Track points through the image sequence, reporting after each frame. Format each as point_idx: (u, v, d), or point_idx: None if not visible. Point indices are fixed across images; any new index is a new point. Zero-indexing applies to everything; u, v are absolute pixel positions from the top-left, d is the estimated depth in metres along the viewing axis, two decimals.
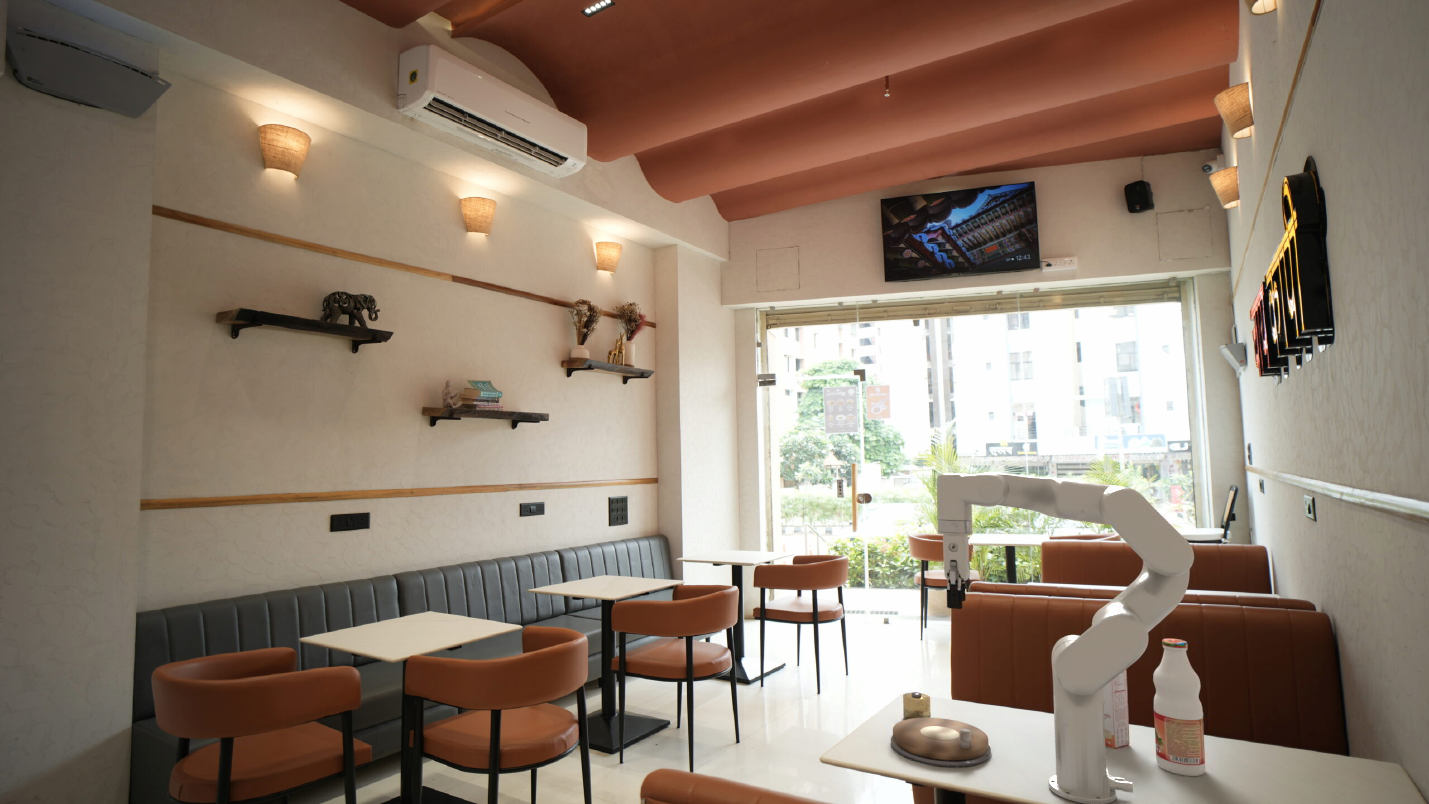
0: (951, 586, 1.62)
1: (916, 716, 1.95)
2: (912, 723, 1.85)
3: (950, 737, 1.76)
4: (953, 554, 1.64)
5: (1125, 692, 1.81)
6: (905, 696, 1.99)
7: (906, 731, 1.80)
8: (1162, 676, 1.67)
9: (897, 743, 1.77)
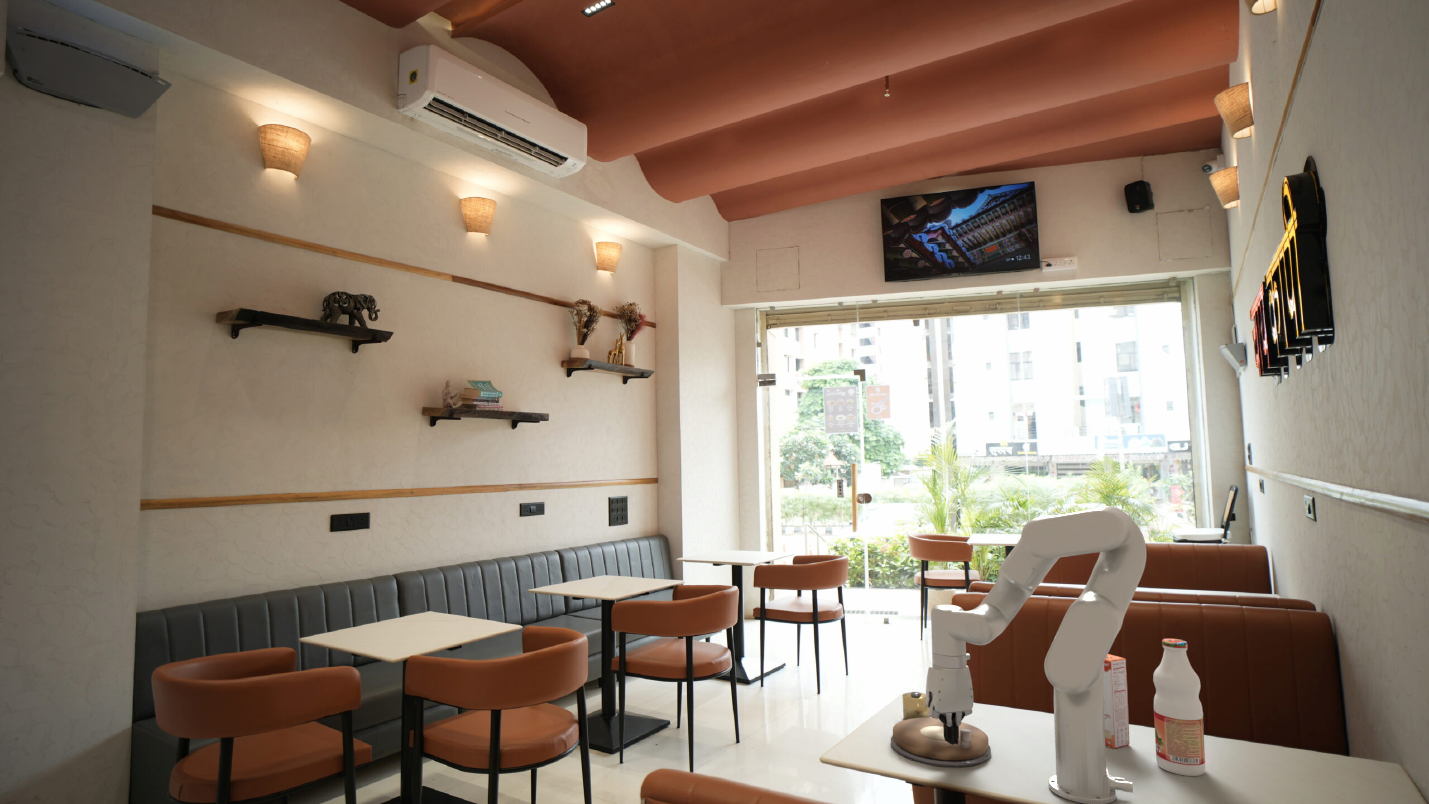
0: None
1: (915, 716, 1.95)
2: (912, 723, 1.85)
3: None
4: None
5: (1125, 692, 1.81)
6: (904, 696, 1.99)
7: (906, 732, 1.80)
8: (1162, 676, 1.67)
9: (897, 743, 1.77)
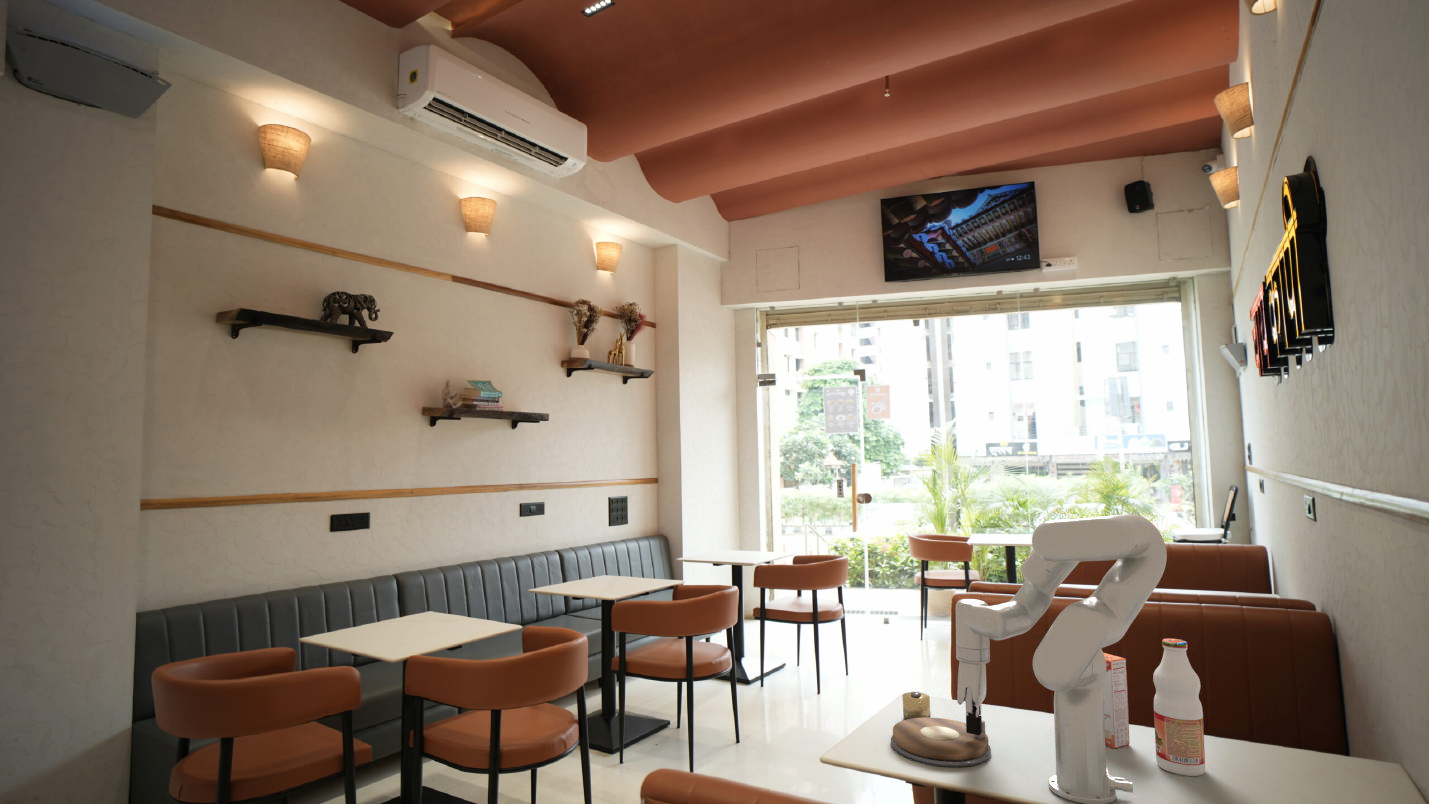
0: None
1: (914, 716, 1.95)
2: (906, 733, 1.79)
3: (954, 733, 1.79)
4: None
5: (1125, 692, 1.81)
6: (904, 696, 1.99)
7: (924, 741, 1.74)
8: (1162, 676, 1.67)
9: (932, 755, 1.69)
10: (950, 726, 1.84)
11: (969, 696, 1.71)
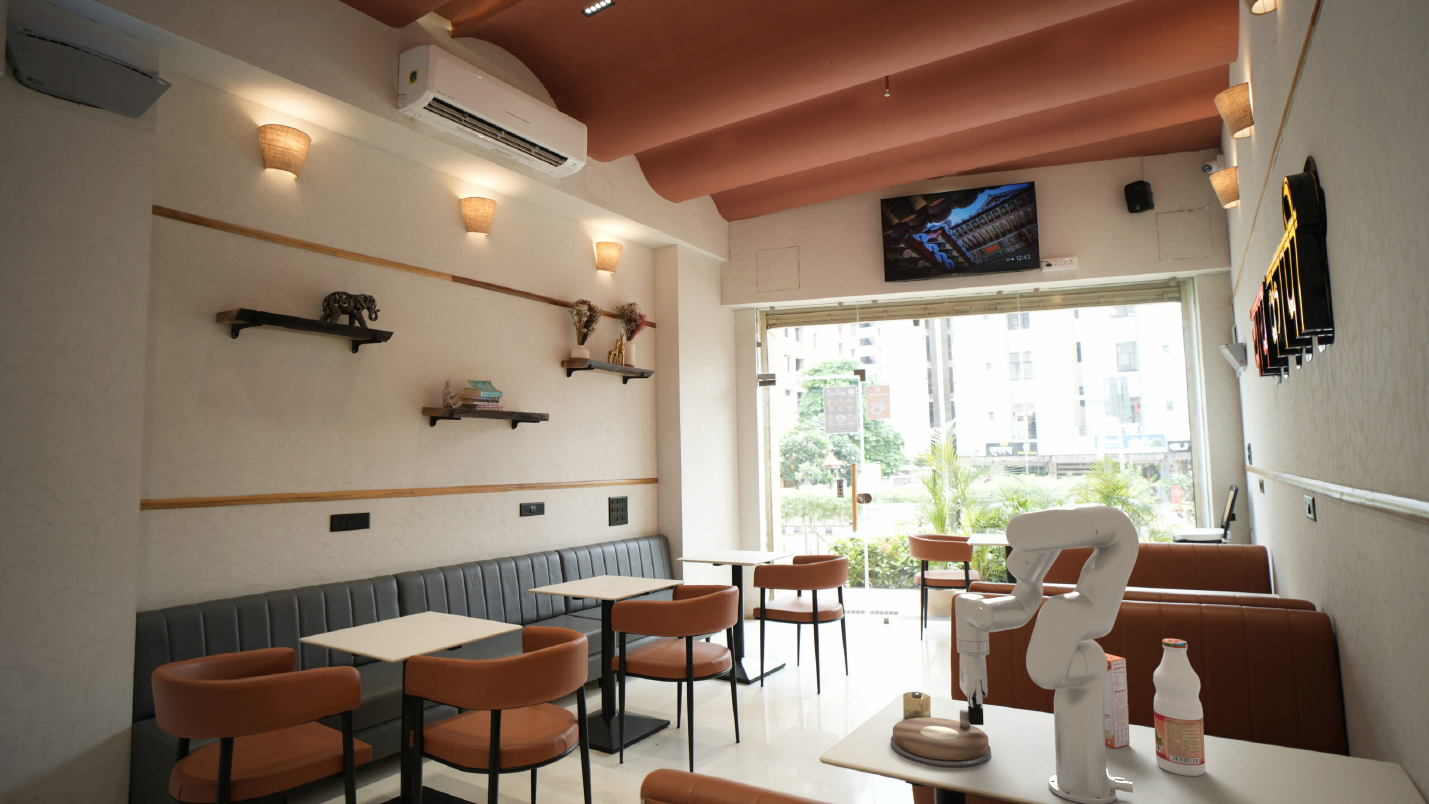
0: None
1: (913, 715, 1.96)
2: (924, 742, 1.73)
3: (948, 729, 1.81)
4: None
5: (1125, 692, 1.81)
6: (905, 695, 2.00)
7: (952, 745, 1.71)
8: (1162, 676, 1.67)
9: (971, 756, 1.69)
10: (929, 724, 1.85)
11: (978, 688, 1.77)
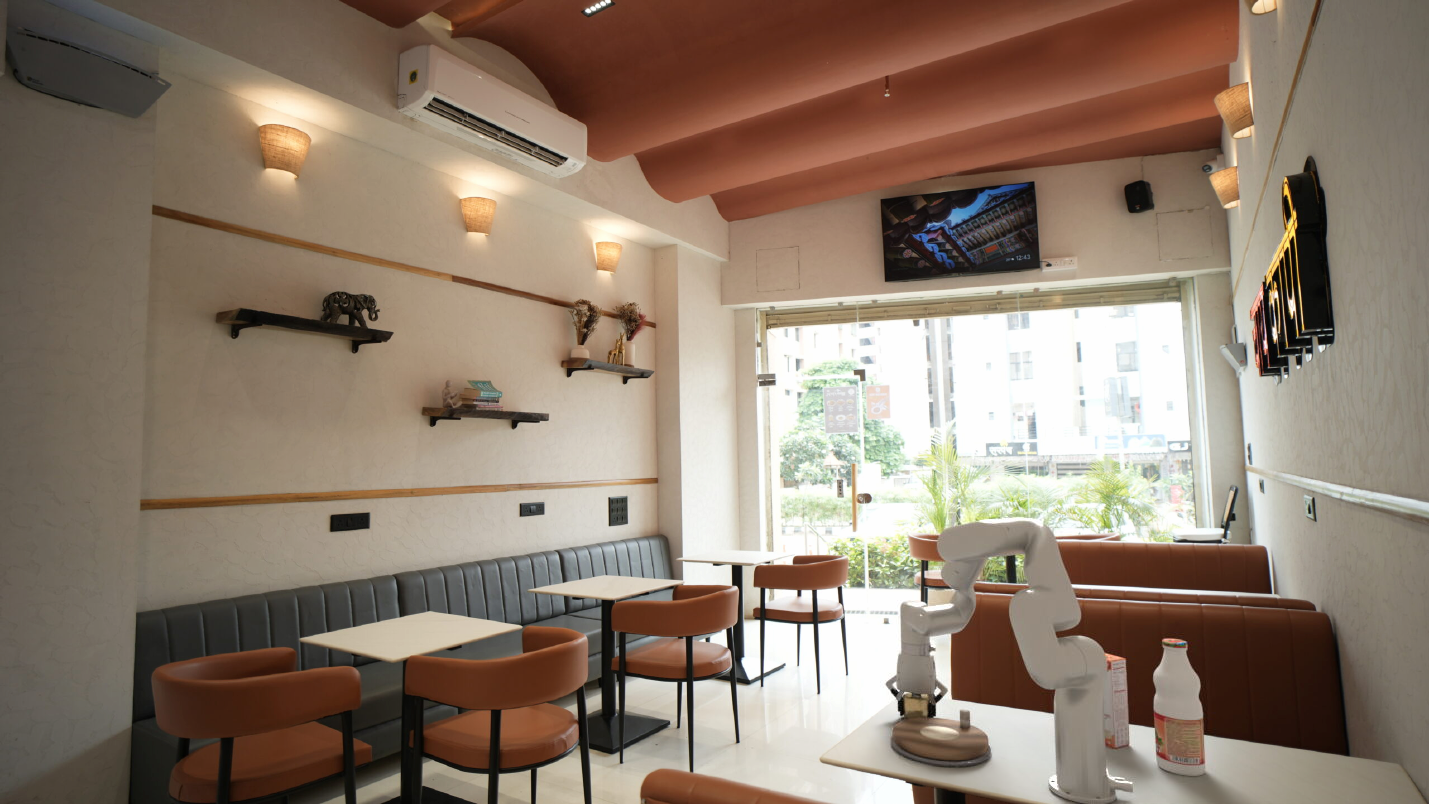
0: (938, 700, 1.96)
1: (909, 715, 1.96)
2: (924, 742, 1.73)
3: (948, 729, 1.81)
4: (935, 671, 1.98)
5: (1125, 692, 1.81)
6: (905, 694, 2.01)
7: (952, 745, 1.71)
8: (1162, 676, 1.67)
9: (971, 756, 1.69)
10: (929, 724, 1.85)
11: None
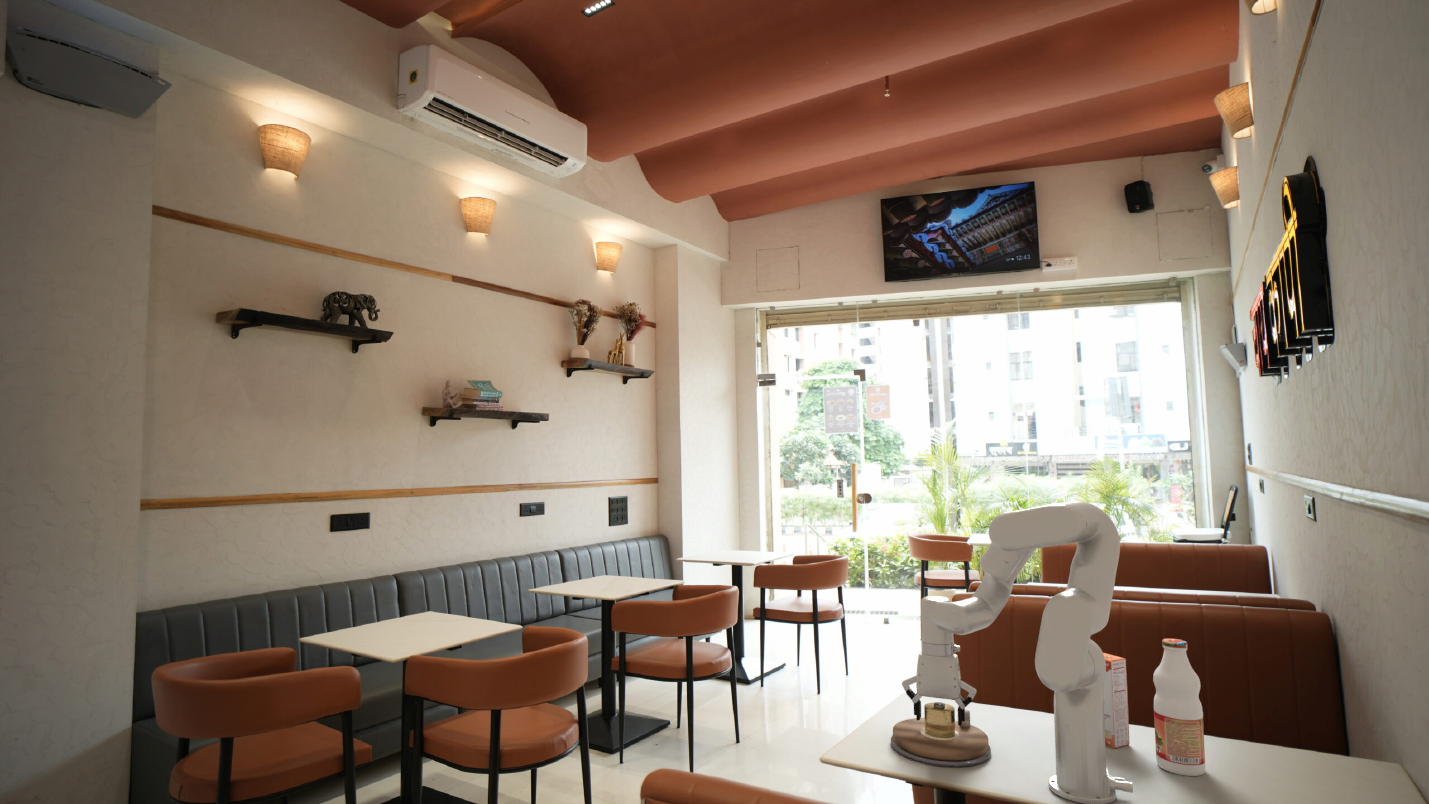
0: None
1: (932, 727, 1.77)
2: (924, 742, 1.73)
3: None
4: (959, 673, 1.78)
5: (1125, 692, 1.81)
6: (927, 705, 1.81)
7: (952, 745, 1.71)
8: (1162, 676, 1.67)
9: (971, 756, 1.69)
10: None
11: None
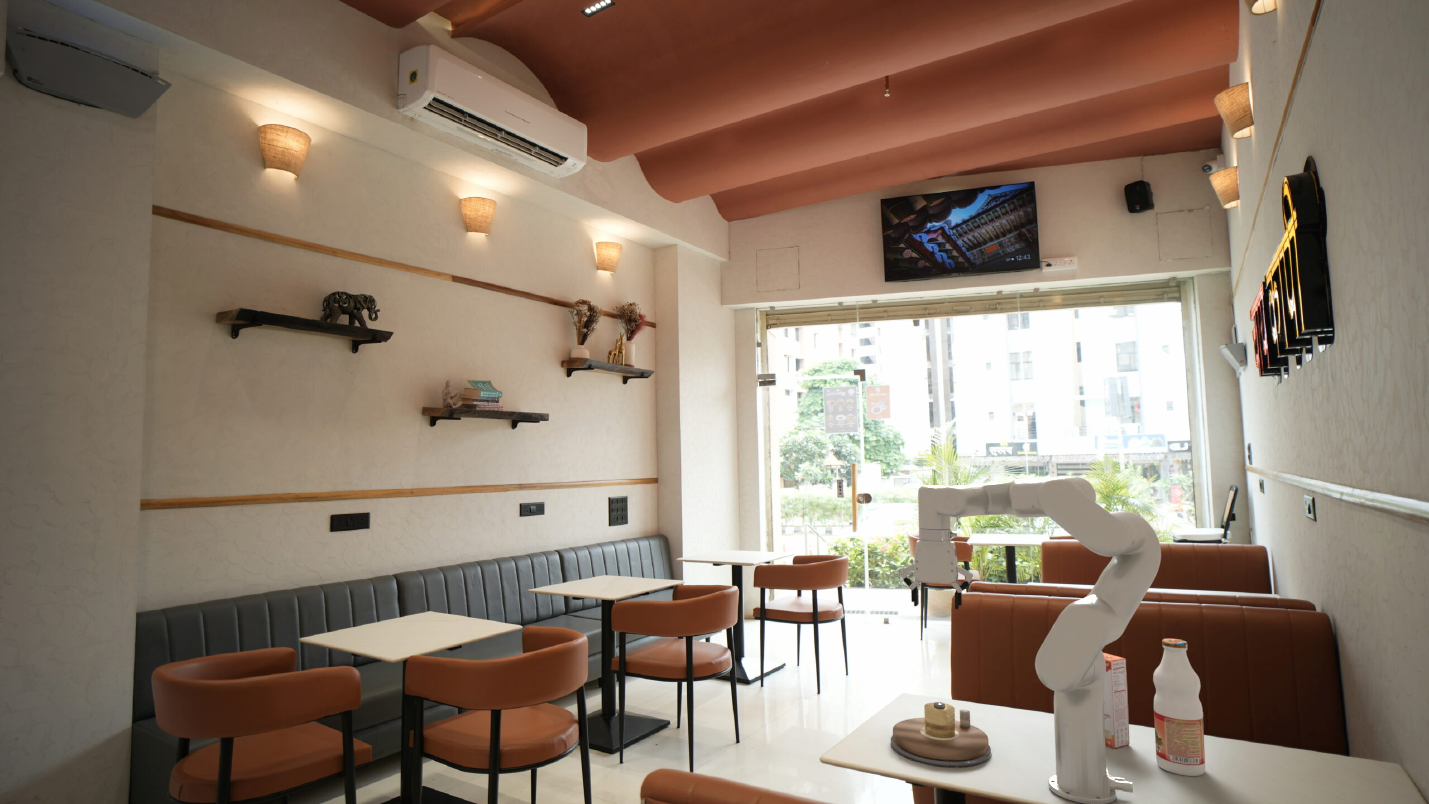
0: None
1: (931, 727, 1.77)
2: (924, 742, 1.73)
3: None
4: (956, 559, 1.80)
5: (1125, 692, 1.81)
6: (927, 705, 1.81)
7: (952, 745, 1.71)
8: (1162, 676, 1.67)
9: (971, 756, 1.69)
10: None
11: None
